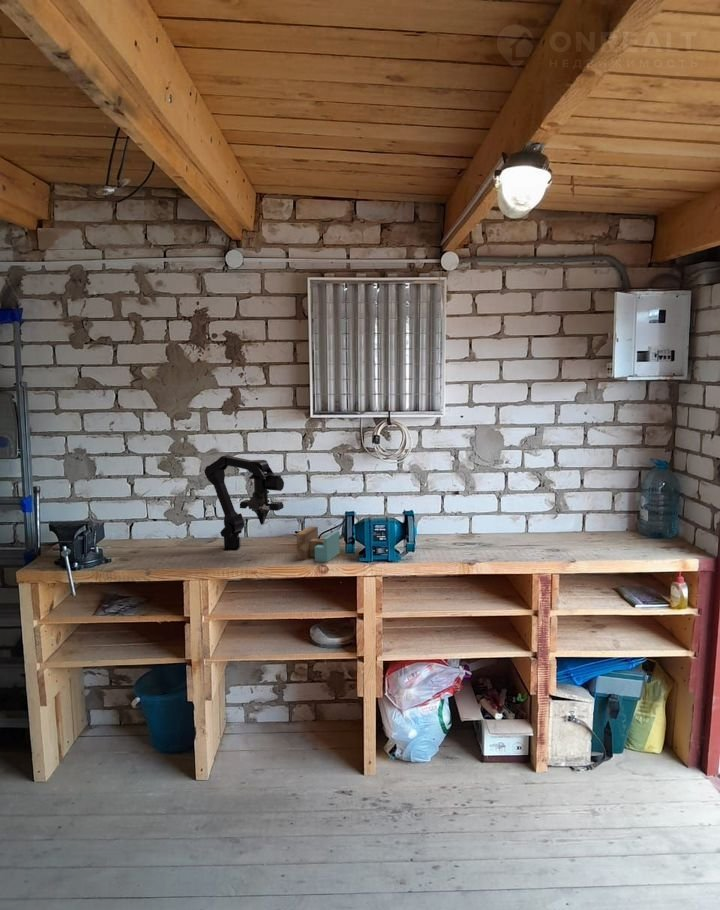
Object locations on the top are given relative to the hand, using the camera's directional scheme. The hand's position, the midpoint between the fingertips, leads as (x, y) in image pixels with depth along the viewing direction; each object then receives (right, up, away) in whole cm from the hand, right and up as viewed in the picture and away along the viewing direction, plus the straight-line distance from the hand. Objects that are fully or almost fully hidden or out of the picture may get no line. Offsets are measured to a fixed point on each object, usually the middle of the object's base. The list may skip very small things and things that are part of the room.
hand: (262, 524), depth 277 cm
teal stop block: (+29, -13, -7) cm, 33 cm away
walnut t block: (+24, -13, -5) cm, 28 cm away
